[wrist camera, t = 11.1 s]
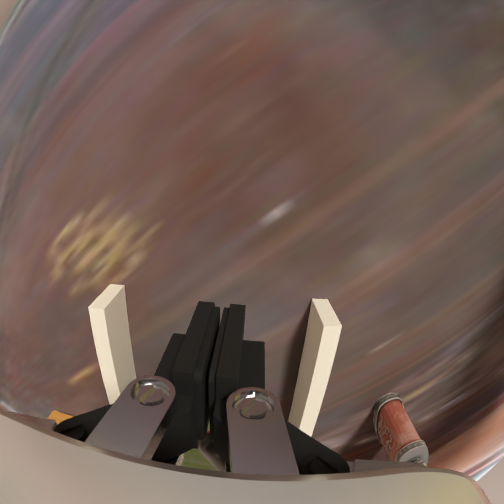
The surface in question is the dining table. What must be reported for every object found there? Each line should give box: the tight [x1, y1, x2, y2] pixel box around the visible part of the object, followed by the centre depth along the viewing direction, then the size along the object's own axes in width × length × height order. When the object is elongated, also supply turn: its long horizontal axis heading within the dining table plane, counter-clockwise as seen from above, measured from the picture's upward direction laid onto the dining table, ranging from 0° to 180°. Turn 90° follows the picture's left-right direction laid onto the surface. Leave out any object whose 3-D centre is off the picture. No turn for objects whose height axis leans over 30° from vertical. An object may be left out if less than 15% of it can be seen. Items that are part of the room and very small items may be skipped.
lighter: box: [373, 393, 429, 466], centre depth 22 cm, size 8×3×10 cm, turn 17°
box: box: [88, 284, 342, 437], centre depth 21 cm, size 16×20×8 cm
